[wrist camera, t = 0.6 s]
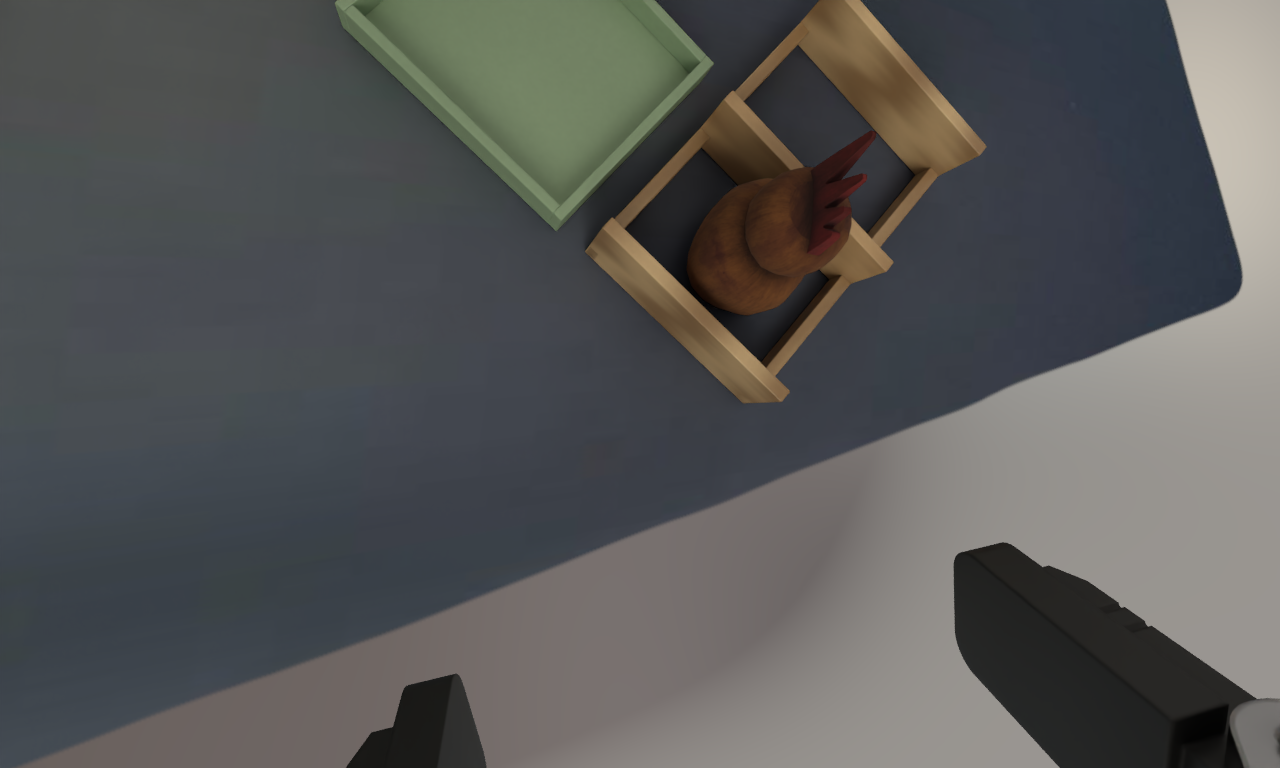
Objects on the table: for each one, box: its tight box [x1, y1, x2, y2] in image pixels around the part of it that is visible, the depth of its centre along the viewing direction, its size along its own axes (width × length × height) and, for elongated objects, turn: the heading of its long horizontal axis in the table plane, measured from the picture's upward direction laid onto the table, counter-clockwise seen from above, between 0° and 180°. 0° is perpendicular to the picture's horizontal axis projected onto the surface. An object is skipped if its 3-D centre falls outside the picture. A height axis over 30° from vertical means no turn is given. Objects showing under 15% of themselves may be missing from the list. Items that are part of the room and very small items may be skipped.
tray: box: [335, 0, 714, 231], centre depth 36 cm, size 15×13×2 cm
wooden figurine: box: [687, 131, 876, 315], centre depth 32 cm, size 7×6×15 cm
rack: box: [585, 0, 986, 403], centre depth 38 cm, size 13×20×5 cm, turn 138°
